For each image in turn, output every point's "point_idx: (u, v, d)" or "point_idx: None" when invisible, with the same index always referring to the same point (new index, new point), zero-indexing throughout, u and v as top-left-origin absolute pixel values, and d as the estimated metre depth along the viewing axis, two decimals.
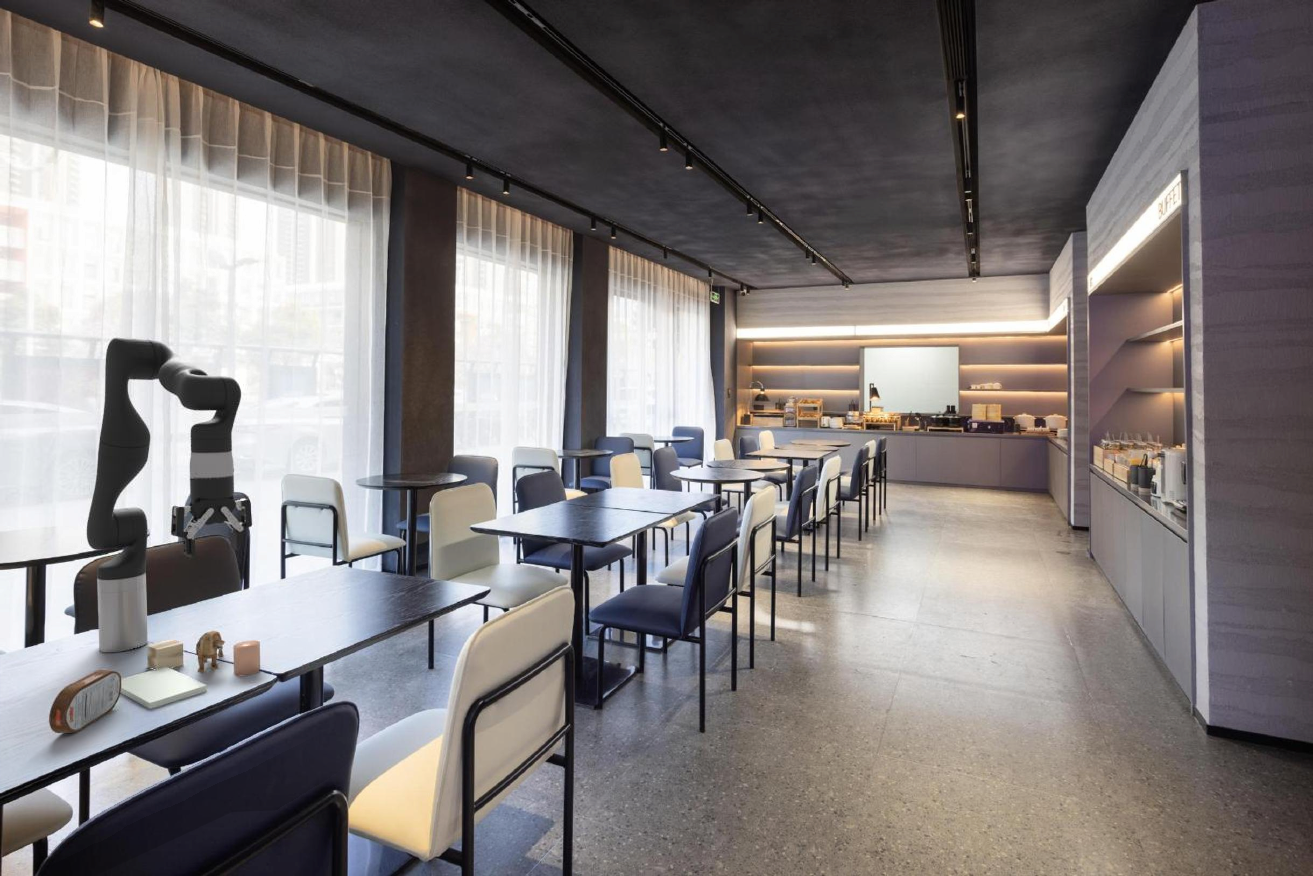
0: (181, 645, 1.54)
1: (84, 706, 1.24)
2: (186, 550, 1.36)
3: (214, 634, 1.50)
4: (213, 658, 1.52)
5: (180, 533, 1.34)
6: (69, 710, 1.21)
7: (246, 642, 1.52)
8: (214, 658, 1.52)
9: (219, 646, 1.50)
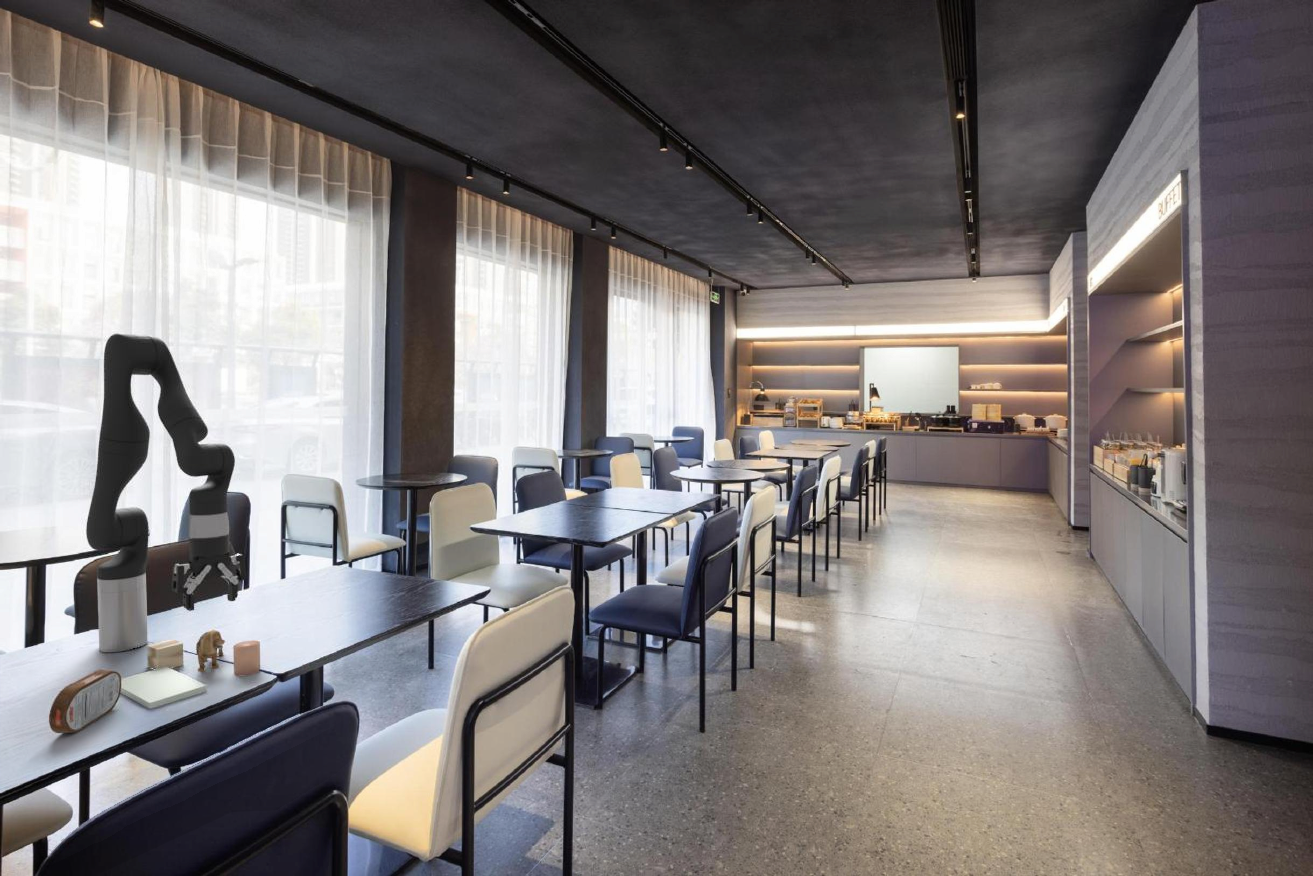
0: (181, 645, 1.54)
1: (84, 706, 1.24)
2: (186, 604, 1.49)
3: (214, 633, 1.50)
4: (213, 657, 1.53)
5: (180, 589, 1.47)
6: (69, 710, 1.21)
7: (246, 642, 1.52)
8: (214, 657, 1.53)
9: (219, 645, 1.50)
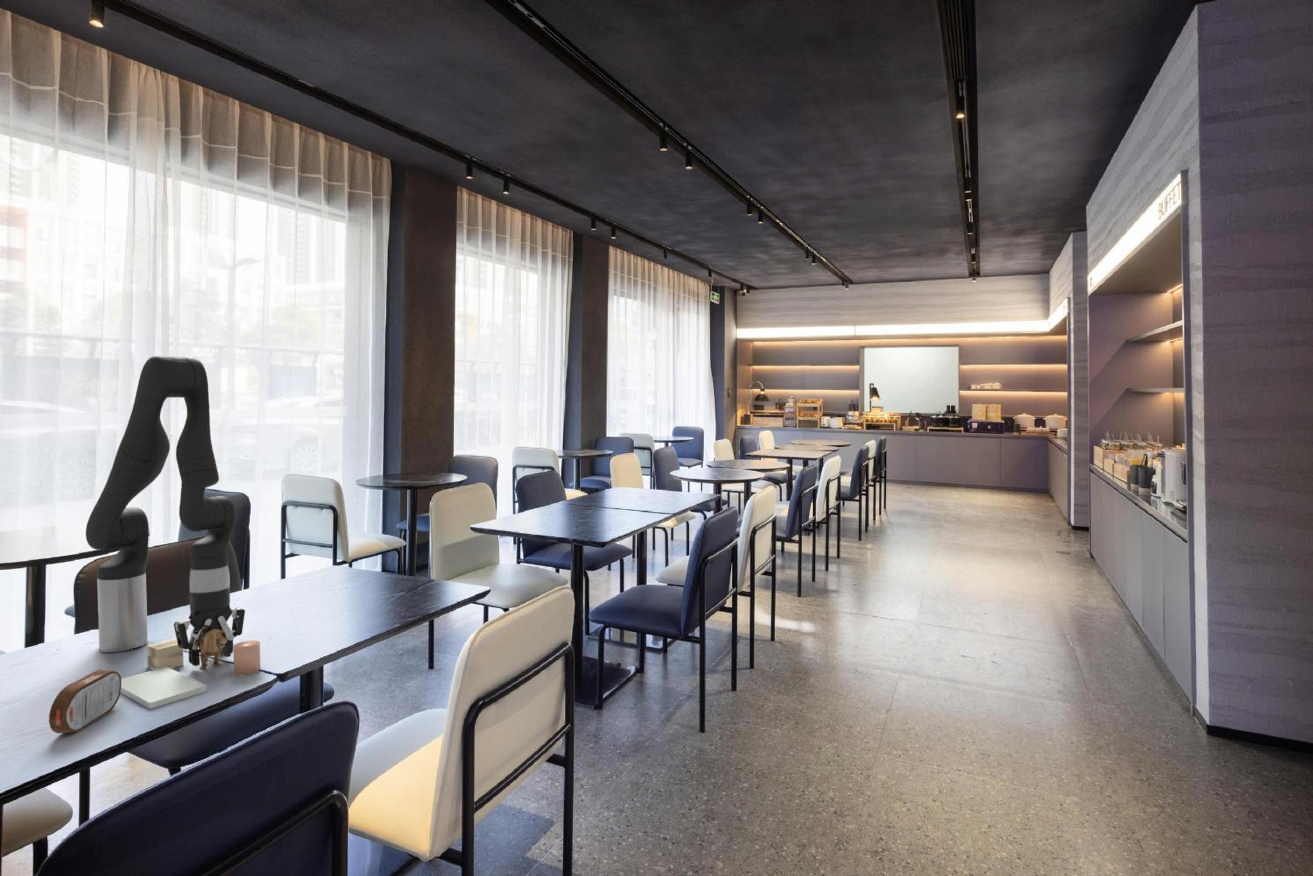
0: None
1: (84, 706, 1.24)
2: (192, 660, 1.50)
3: (217, 632, 1.51)
4: (215, 656, 1.54)
5: (186, 646, 1.49)
6: (69, 709, 1.21)
7: (246, 642, 1.52)
8: (216, 656, 1.54)
9: (222, 644, 1.51)
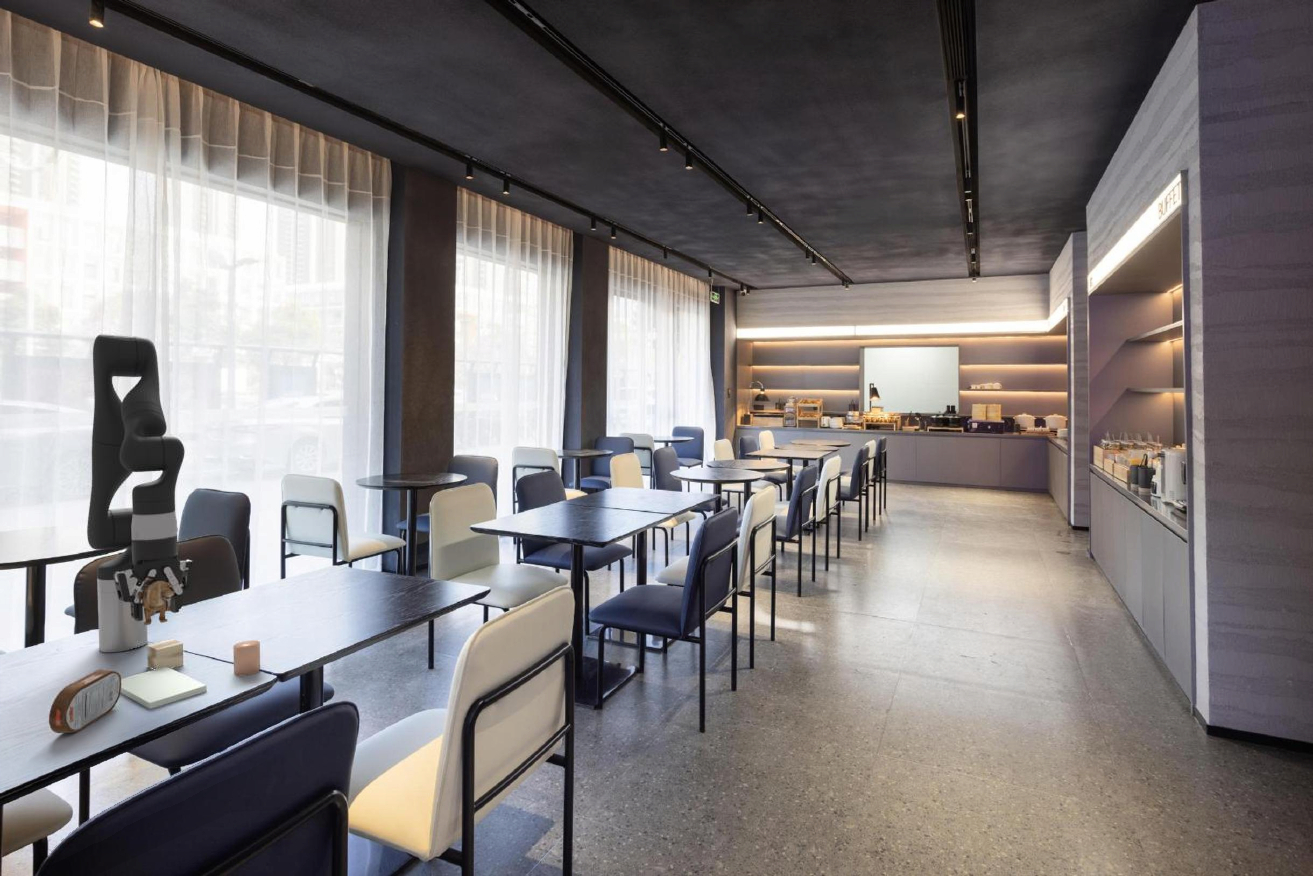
0: (181, 645, 1.54)
1: (84, 706, 1.24)
2: (134, 614, 1.37)
3: (163, 583, 1.38)
4: (161, 611, 1.40)
5: (127, 598, 1.35)
6: (69, 709, 1.21)
7: (246, 642, 1.52)
8: (162, 611, 1.40)
9: (168, 597, 1.38)
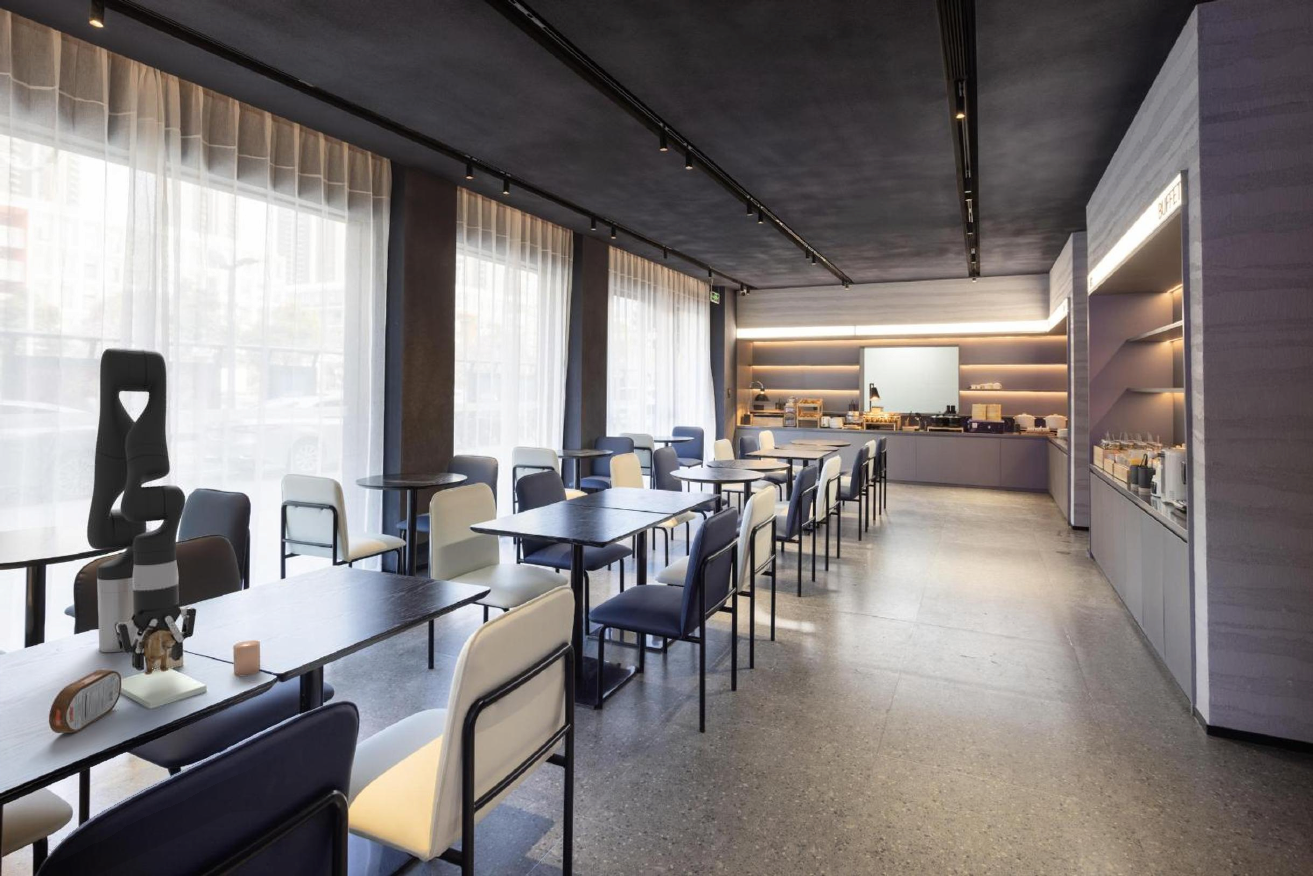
0: None
1: (84, 706, 1.24)
2: (135, 664, 1.37)
3: (164, 633, 1.38)
4: (162, 659, 1.40)
5: (128, 649, 1.36)
6: (69, 709, 1.21)
7: (246, 642, 1.52)
8: (164, 659, 1.40)
9: (169, 646, 1.38)
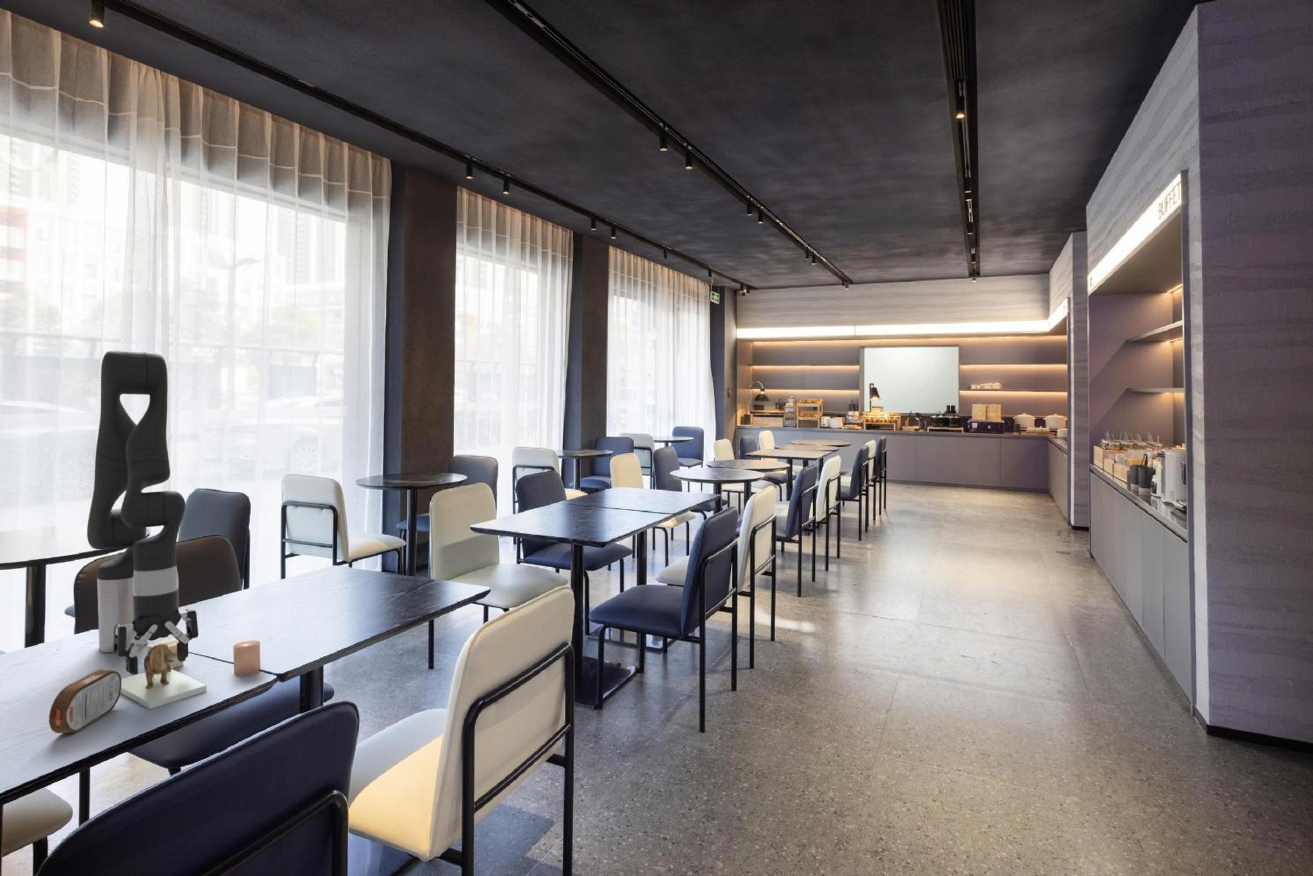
0: None
1: (84, 706, 1.24)
2: (129, 668, 1.36)
3: (165, 647, 1.38)
4: (163, 673, 1.40)
5: (122, 653, 1.35)
6: (69, 710, 1.21)
7: (246, 642, 1.52)
8: (164, 673, 1.41)
9: (171, 660, 1.39)
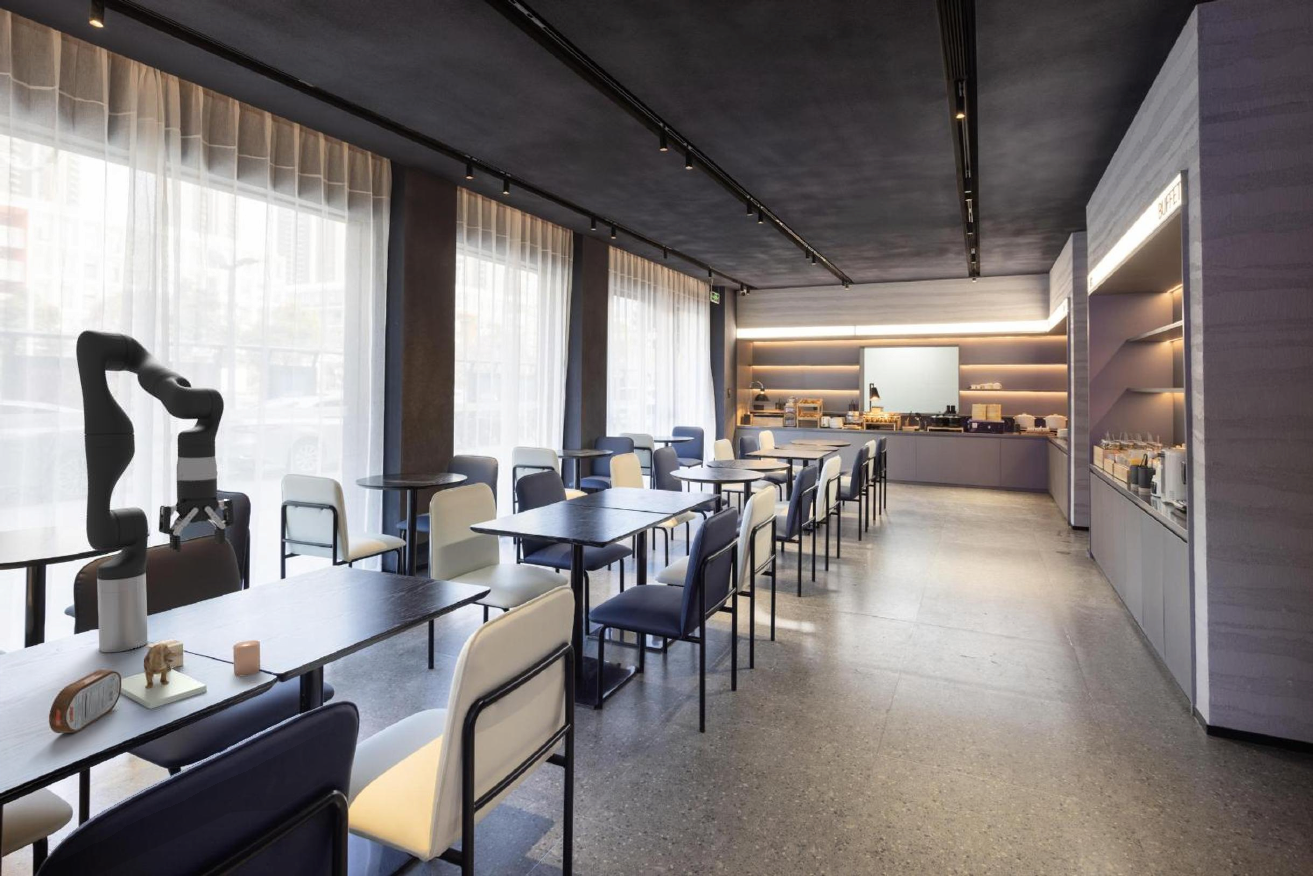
0: (181, 645, 1.54)
1: (84, 706, 1.24)
2: (172, 545, 1.50)
3: (165, 647, 1.38)
4: (163, 673, 1.41)
5: (167, 530, 1.49)
6: (69, 710, 1.21)
7: (246, 642, 1.52)
8: (164, 673, 1.41)
9: (171, 660, 1.39)
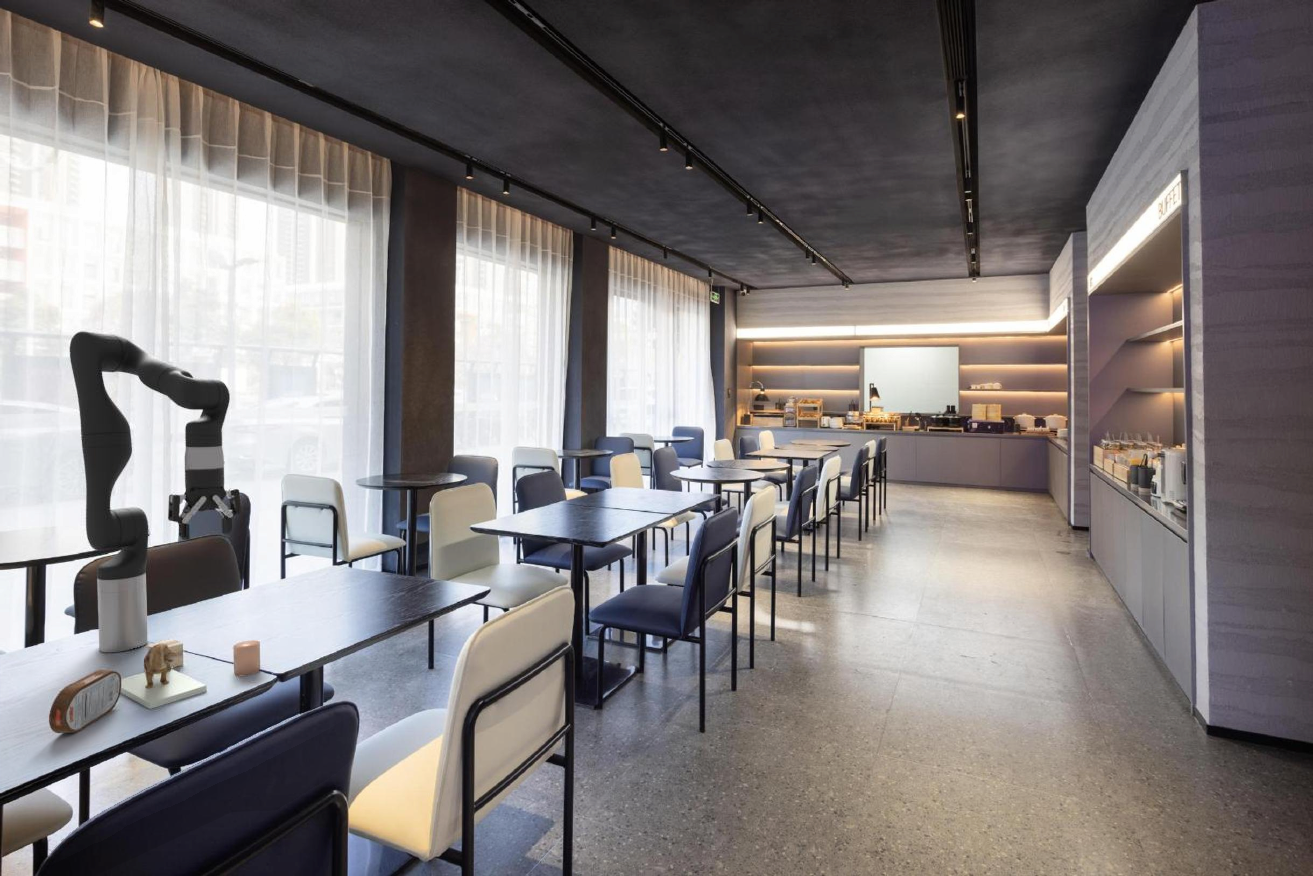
0: (181, 645, 1.54)
1: (84, 706, 1.24)
2: (181, 533, 1.53)
3: (165, 647, 1.39)
4: (163, 673, 1.41)
5: (176, 518, 1.52)
6: (69, 710, 1.21)
7: (246, 642, 1.52)
8: (164, 673, 1.41)
9: (171, 659, 1.39)
